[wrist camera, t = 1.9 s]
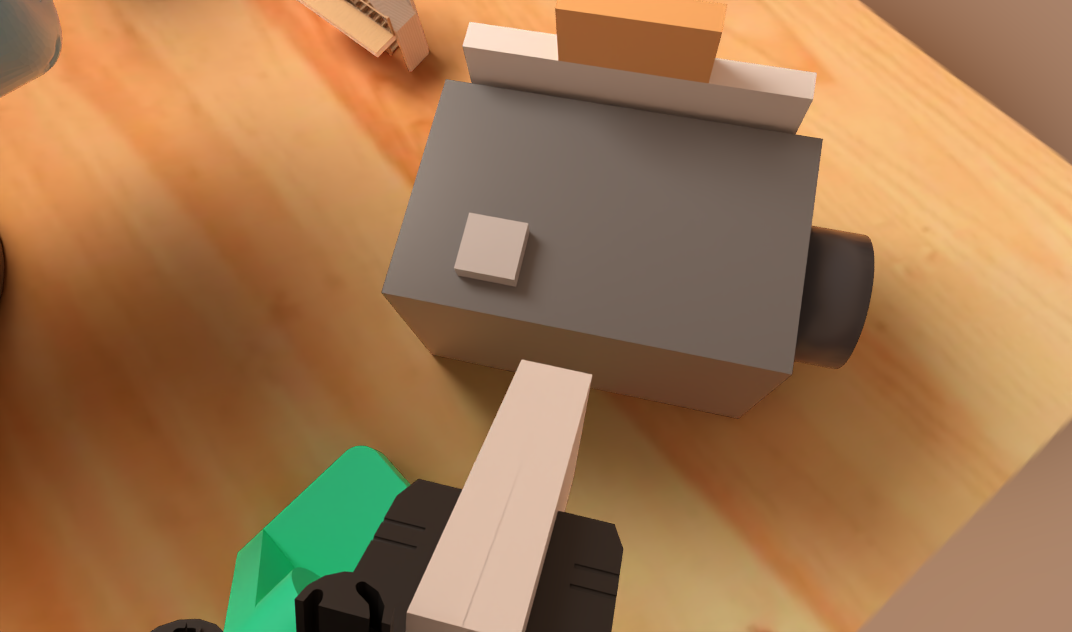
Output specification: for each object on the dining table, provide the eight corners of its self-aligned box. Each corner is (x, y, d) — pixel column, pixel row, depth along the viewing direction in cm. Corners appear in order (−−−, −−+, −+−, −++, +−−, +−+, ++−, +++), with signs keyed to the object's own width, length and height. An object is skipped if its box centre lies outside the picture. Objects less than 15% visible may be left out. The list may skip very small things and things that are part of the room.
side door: (748, 225, 39) (839, 48, 25) (495, 180, 41) (449, -7, 27) (751, 204, 39) (842, 20, 25) (501, 162, 41) (457, -33, 27)
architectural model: (395, 94, 44) (358, 8, 37) (315, 37, 46) (265, -57, 39) (433, 56, 45) (403, -36, 38) (353, 0, 46) (310, -98, 39)
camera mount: (540, 625, 34) (521, 658, 25) (419, 751, 33) (349, 838, 23) (377, 443, 37) (303, 408, 28) (261, 551, 36) (141, 555, 26)
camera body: (799, 431, 36) (884, 386, 26) (432, 354, 38) (375, 285, 28) (822, 247, 39) (907, 140, 29) (478, 186, 41) (442, 67, 31)
